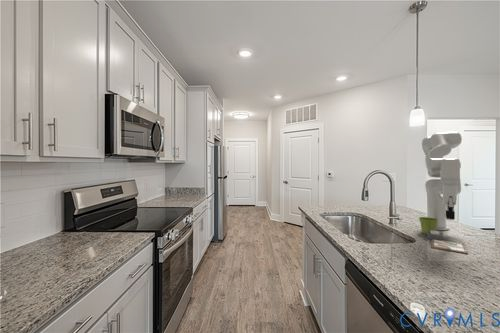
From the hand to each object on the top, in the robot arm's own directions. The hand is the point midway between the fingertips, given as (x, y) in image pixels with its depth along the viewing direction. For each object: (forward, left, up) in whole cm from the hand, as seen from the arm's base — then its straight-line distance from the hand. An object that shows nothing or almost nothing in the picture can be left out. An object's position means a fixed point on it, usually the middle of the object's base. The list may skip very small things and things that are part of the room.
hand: (450, 217), depth 116 cm
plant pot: (-19, -9, -14) cm, 25 cm away
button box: (-9, -6, -14) cm, 17 cm away
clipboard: (+3, -1, -14) cm, 14 cm away
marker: (0, 0, -1) cm, 1 cm away
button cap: (-9, -6, -12) cm, 16 cm away
